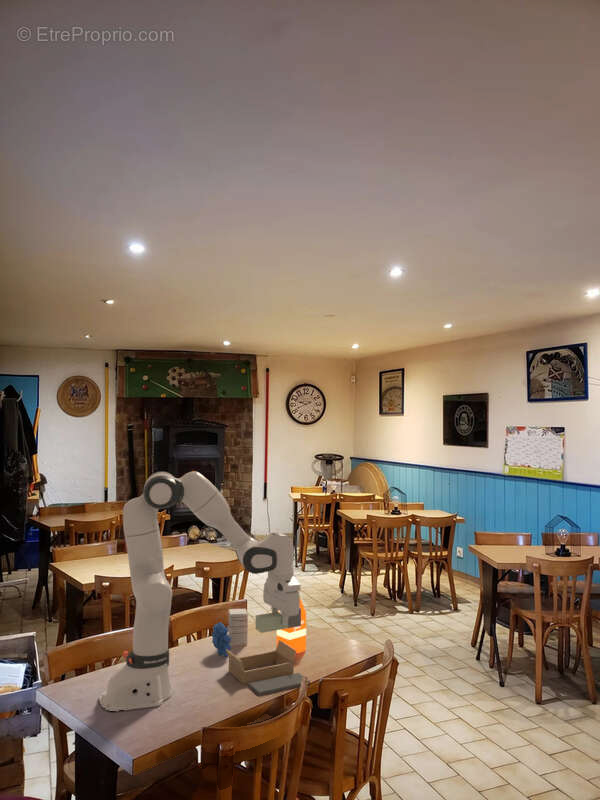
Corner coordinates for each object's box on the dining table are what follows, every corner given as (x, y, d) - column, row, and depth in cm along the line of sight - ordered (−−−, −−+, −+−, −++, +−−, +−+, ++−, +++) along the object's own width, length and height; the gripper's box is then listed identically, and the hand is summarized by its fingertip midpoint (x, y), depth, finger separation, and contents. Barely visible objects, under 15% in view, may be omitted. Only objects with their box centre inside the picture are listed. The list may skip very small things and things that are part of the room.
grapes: (203, 653, 233) (204, 621, 234) (218, 649, 237) (218, 618, 238) (220, 662, 224) (220, 629, 225) (235, 658, 228) (235, 625, 229)
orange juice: (276, 650, 237) (276, 598, 238) (293, 645, 243) (293, 594, 244) (289, 656, 231) (290, 602, 232) (306, 650, 237) (306, 598, 238)
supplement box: (227, 640, 248) (228, 608, 249) (245, 639, 250) (246, 608, 250) (229, 646, 241) (229, 614, 242) (247, 645, 242) (248, 613, 243)
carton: (240, 685, 204) (240, 661, 204) (225, 671, 215) (225, 649, 216) (296, 673, 215) (296, 650, 215) (279, 660, 226) (279, 639, 227)
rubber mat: (259, 695, 196) (259, 692, 196) (248, 686, 203) (249, 683, 203) (309, 684, 205) (309, 681, 205) (298, 675, 212) (298, 672, 212)
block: (261, 632, 199) (261, 614, 200) (255, 629, 203) (255, 610, 204) (300, 626, 207) (301, 608, 207) (294, 622, 211) (294, 605, 211)
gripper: (259, 575, 214) (258, 615, 213) (286, 588, 196) (285, 632, 195) (274, 573, 217) (274, 613, 216) (303, 586, 199) (302, 629, 198)
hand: (280, 622), depth 205 cm, fingers closed on block, 4 cm apart
